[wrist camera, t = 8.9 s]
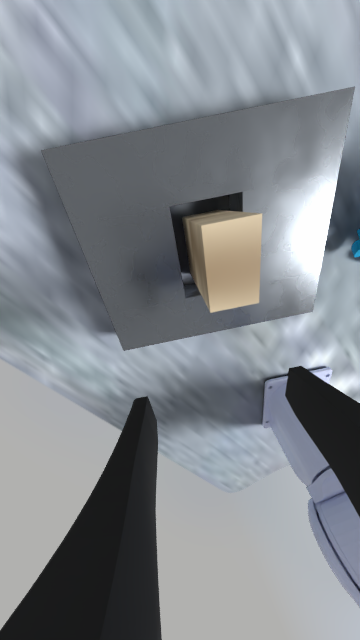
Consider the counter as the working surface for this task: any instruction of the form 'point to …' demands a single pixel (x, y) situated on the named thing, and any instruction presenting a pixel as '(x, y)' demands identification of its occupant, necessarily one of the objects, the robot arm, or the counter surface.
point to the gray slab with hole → (198, 184)
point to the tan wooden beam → (225, 257)
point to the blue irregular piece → (356, 246)
